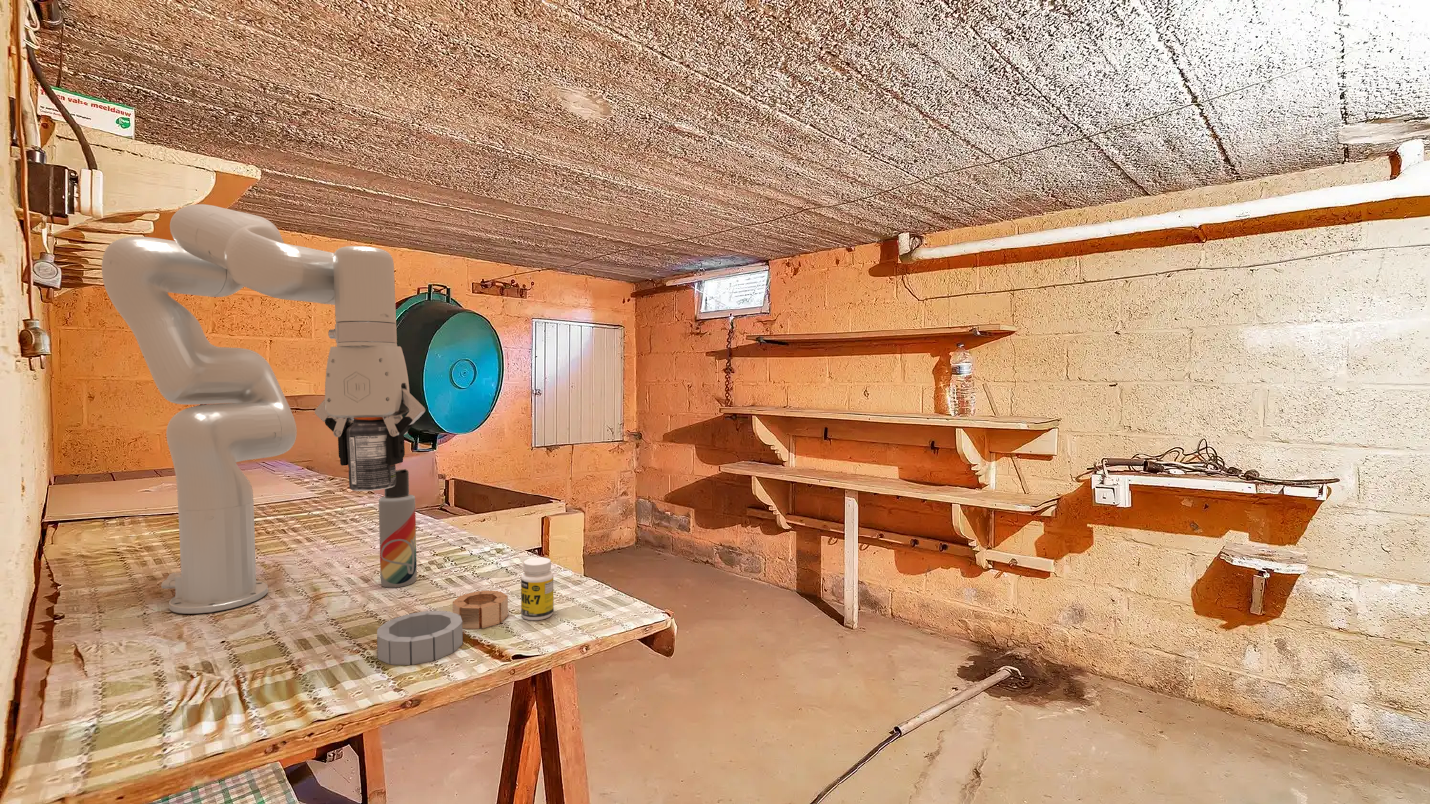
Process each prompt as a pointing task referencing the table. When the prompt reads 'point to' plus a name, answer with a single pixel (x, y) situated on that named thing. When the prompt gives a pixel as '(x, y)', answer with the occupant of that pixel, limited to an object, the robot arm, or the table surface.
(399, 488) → the lotion bottle
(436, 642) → the grey segmented ring
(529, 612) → the supplement bottle
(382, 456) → the pill bottle
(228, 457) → the robot arm
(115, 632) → the table surface
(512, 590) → the table surface
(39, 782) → the table surface
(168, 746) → the table surface
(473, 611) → the wooden ring
